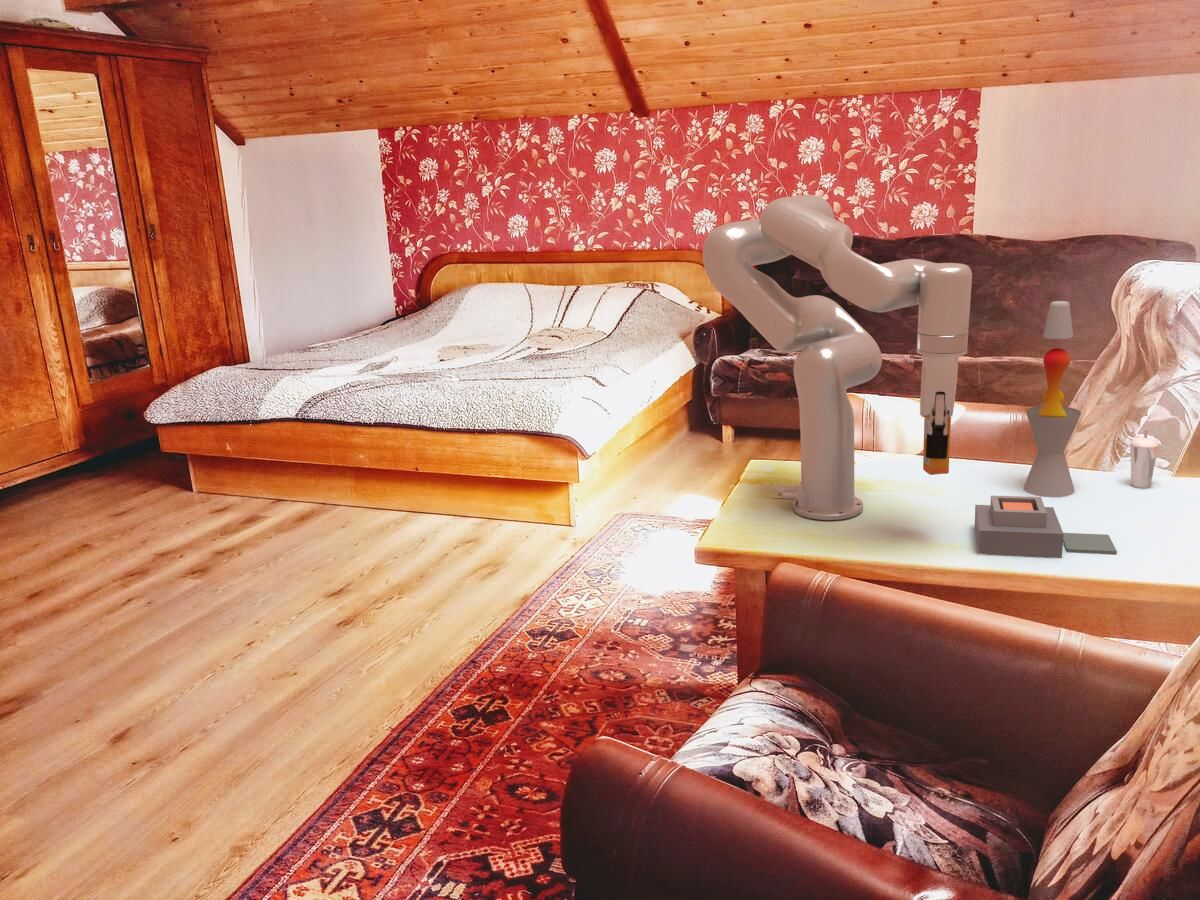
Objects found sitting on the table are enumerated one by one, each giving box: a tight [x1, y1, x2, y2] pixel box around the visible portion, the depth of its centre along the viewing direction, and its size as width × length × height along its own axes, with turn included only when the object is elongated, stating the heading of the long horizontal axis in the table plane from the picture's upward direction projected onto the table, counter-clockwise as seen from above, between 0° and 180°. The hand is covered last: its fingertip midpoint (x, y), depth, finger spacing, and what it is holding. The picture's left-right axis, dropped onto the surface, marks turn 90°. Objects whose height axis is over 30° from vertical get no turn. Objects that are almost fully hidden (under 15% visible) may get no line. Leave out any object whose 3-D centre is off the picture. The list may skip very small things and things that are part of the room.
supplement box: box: [922, 412, 952, 476], centre depth 151 cm, size 3×3×10 cm
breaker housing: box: [974, 495, 1064, 559], centre depth 151 cm, size 12×12×6 cm
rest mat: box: [1063, 532, 1118, 555], centre depth 148 cm, size 7×7×1 cm
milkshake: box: [1129, 428, 1160, 489], centre depth 171 cm, size 4×5×10 cm
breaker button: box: [1002, 502, 1034, 511], centre depth 150 cm, size 4×4×3 cm
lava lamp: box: [1023, 300, 1082, 498], centre depth 169 cm, size 9×9×35 cm
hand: (935, 452), depth 152 cm, fingers closed on supplement box, 3 cm apart
